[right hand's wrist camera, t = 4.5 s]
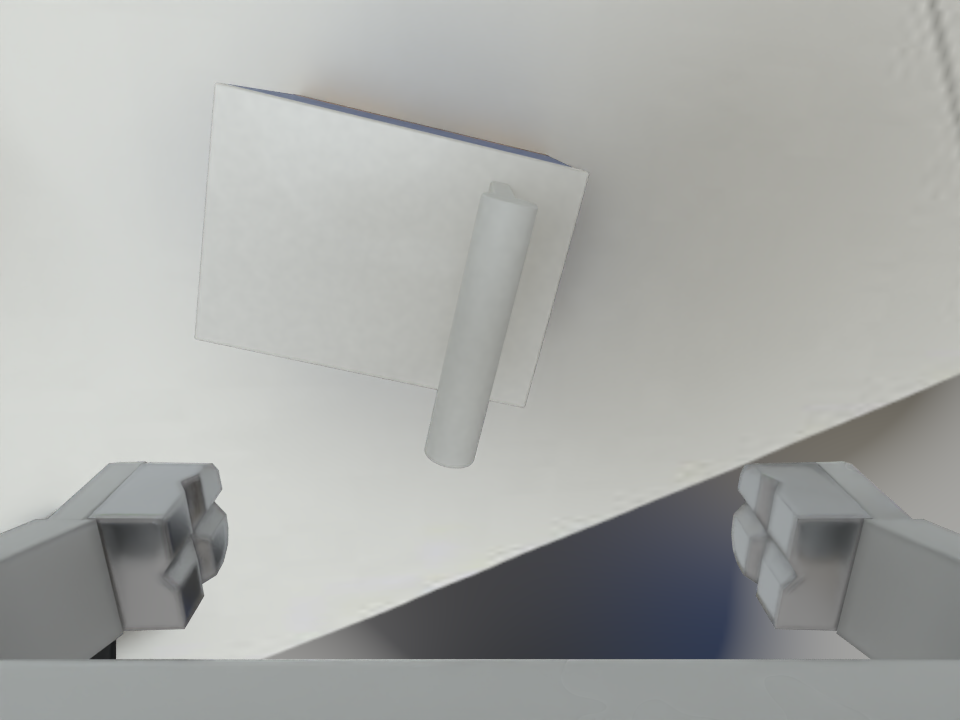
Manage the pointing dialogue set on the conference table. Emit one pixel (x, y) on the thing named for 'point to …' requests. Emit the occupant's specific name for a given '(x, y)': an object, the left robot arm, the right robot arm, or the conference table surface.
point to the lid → (383, 254)
